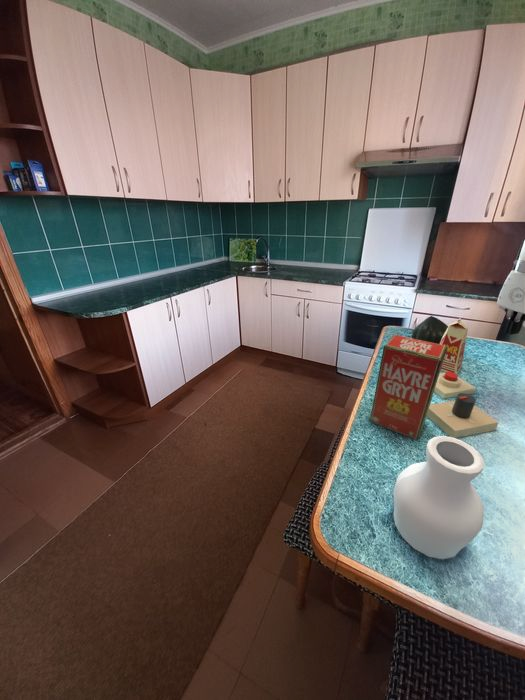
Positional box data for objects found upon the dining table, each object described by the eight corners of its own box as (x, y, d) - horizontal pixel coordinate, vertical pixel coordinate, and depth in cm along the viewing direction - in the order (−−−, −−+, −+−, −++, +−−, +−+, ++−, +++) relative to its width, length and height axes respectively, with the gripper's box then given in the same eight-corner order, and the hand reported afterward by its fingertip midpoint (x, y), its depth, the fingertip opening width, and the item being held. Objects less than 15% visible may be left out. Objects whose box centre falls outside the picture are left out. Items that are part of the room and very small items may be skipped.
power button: (450, 375, 99) (451, 371, 98) (458, 381, 95) (460, 376, 95) (441, 376, 98) (442, 372, 97) (449, 382, 95) (451, 378, 94)
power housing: (450, 377, 104) (453, 368, 102) (474, 393, 95) (478, 383, 93) (421, 382, 102) (424, 372, 100) (443, 399, 93) (446, 388, 91)
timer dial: (461, 407, 84) (467, 391, 82) (473, 417, 80) (480, 400, 78) (448, 409, 84) (453, 393, 81) (460, 419, 80) (466, 402, 77)
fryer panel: (462, 406, 89) (465, 398, 88) (495, 430, 80) (499, 421, 78) (423, 413, 87) (425, 405, 85) (451, 439, 77) (455, 430, 76)
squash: (456, 350, 110) (458, 314, 114) (413, 346, 116) (416, 311, 119) (446, 359, 123) (448, 326, 127) (407, 355, 128) (410, 324, 132)
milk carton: (456, 375, 105) (473, 324, 96) (428, 367, 110) (442, 318, 101) (461, 366, 111) (478, 317, 102) (435, 358, 116) (449, 311, 107)
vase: (385, 546, 54) (407, 471, 45) (388, 485, 65) (407, 415, 56) (476, 582, 49) (522, 505, 39) (462, 508, 60) (496, 435, 51)
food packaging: (367, 421, 84) (382, 344, 73) (378, 405, 91) (393, 332, 79) (417, 441, 77) (442, 359, 65) (425, 422, 83) (449, 344, 72)
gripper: (495, 264, 80) (477, 325, 88) (554, 274, 67) (526, 345, 75) (518, 261, 82) (498, 322, 90) (580, 271, 68) (550, 341, 77)
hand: (511, 332), depth 82 cm, fingers closed
